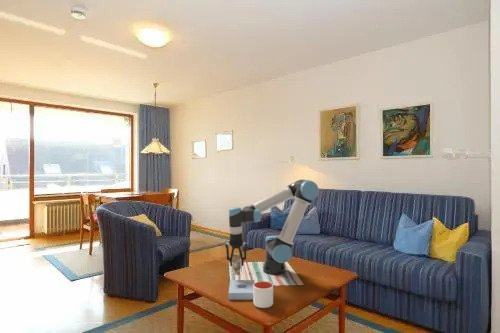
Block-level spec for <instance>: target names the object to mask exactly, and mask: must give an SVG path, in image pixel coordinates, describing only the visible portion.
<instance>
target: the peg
mask: <svg viewBox="0 0 500 333" xmlns="http://www.w3.org/2000/svg"><path fill="white" fill-rule="evenodd" d="M232 260H233V266H234V268H233V269H234V272H233V273H234V274H233V275H235V276H239V275H240V274H241V269H240V260H241V257H240V253H233V257H232Z"/></svg>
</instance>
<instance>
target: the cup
mask: <svg viewBox="0 0 500 333" xmlns="http://www.w3.org/2000/svg"><path fill="white" fill-rule="evenodd" d="M252 300H253V302H252V303H253V305H254V306H255V307H256V308H259V309H268V308H270V307H272V306H273V304H274V284H273V283H272V282H269V281H266V280H265V281H257V282H254V285H253V299H252Z"/></svg>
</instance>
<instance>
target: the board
mask: <svg viewBox="0 0 500 333" xmlns="http://www.w3.org/2000/svg"><path fill="white" fill-rule="evenodd" d="M254 283H255V279H232V280H229V288H228V295H227V296H228V298H227V299H228V300H230V301H231V300H236V301H237V300H238V301H239V300H241V301H245V300H246V301H248V300H253V285H254Z"/></svg>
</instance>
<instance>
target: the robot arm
mask: <svg viewBox="0 0 500 333" xmlns="http://www.w3.org/2000/svg"><path fill="white" fill-rule="evenodd" d="M319 192H320V190H319V186H318V185H317V183H316V182H315V181H313V180H310V179H298V180H296V181H294V182H293V183H290V184H288V185H287V186H285V188H284V189H282V190H280V191H277V192H275V193H273V194H271V195H269V196H267V197H265V198H263V199H260V200H259V201H257V202H254V203H253V204H250V205H246V206H243V208H241V206H233V207H230V208H229V209H228V223H229V225H228V227H229V242H226V243H225V245H224V246H225V249H226V261H229V266H230V267H231V272H232V273H234V269H233V268H234V266H233V254H234V251H235V249H238V252H239V254H240V273H241V272H242V273H243V267H244V261H245V260H247V246H248V243H247V242H245V241H244V240H243V233H242V232H243V228H242V227H243V225H242V224H245V223H246V224H247V223H258V222H261V220H262V213H263V212H266V211H268V210H270V209H273V208H274V207H276V206H279V205H280V204H282V203H284V202H286V201H289V200H290V199H291V200H294V201H293V204H292V206H291V208H290V210H289V212H288V215H287V217H286V220H285V222H284V223H283V224H284V225H283V227H282V230H281V231H280V234H279V235H268V236H266V237H265V260H264V264H263V267H262V270H263V272H264V273H266V274H269V275H281V274H282V275H283V274H284V273H286V272H287V267H286V263H287V262H289V261H290V260H291V259H292V255H293V251H292V249H293V247H294V242H293V240H294V238H295V236H296V234H297V231H298V228H299V226H300V224H301V222H302V220H303V217H304V215H305V214H306V213H305V212H306V211H307V208H308V206H309V205H311V204H312V203H313V200H315V199H316V198H317V197H318V196H319ZM242 246H243V251H242V248H241V247H242ZM229 247H231V252H230V248H229ZM230 253H231V254H230Z"/></svg>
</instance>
